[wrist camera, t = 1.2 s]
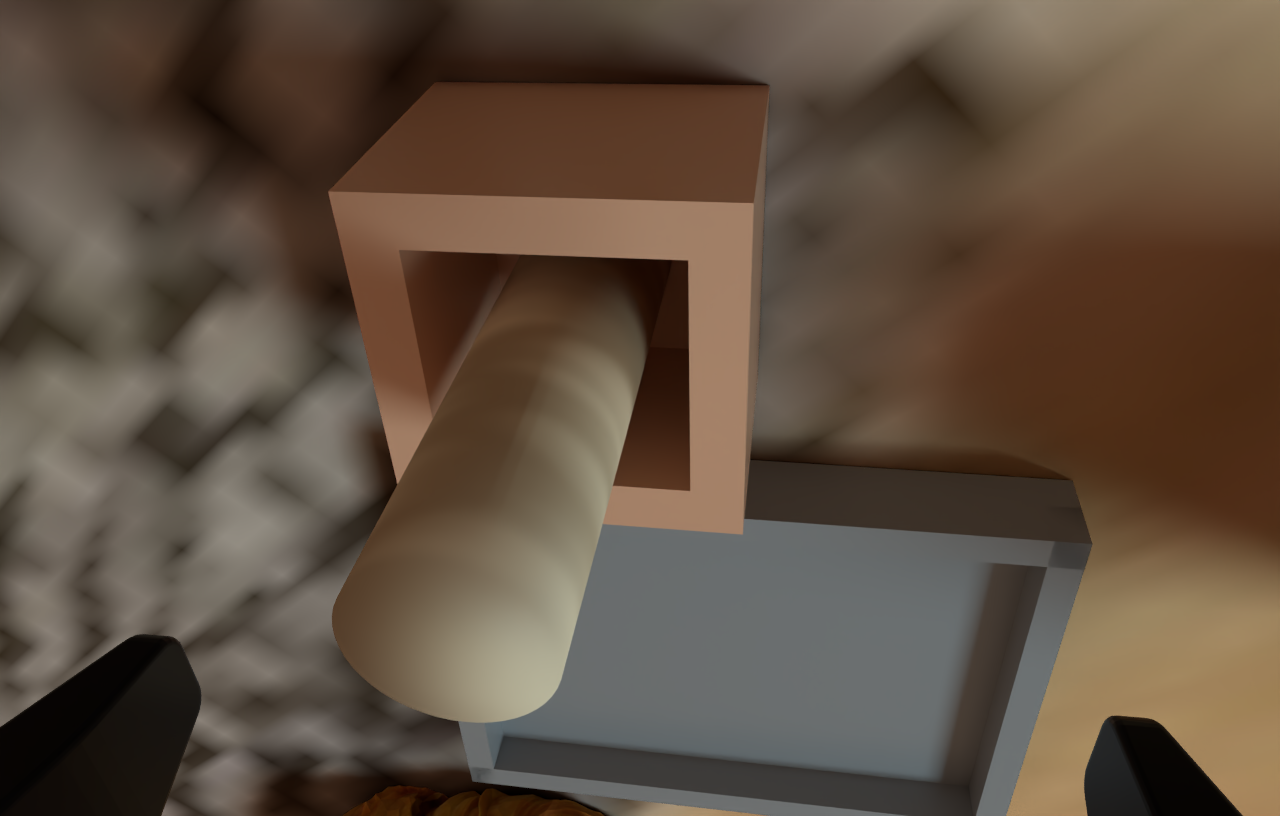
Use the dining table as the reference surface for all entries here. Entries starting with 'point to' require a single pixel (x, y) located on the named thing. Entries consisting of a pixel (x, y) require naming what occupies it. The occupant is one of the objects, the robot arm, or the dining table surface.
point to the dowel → (505, 497)
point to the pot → (574, 226)
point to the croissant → (464, 804)
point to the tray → (813, 650)
